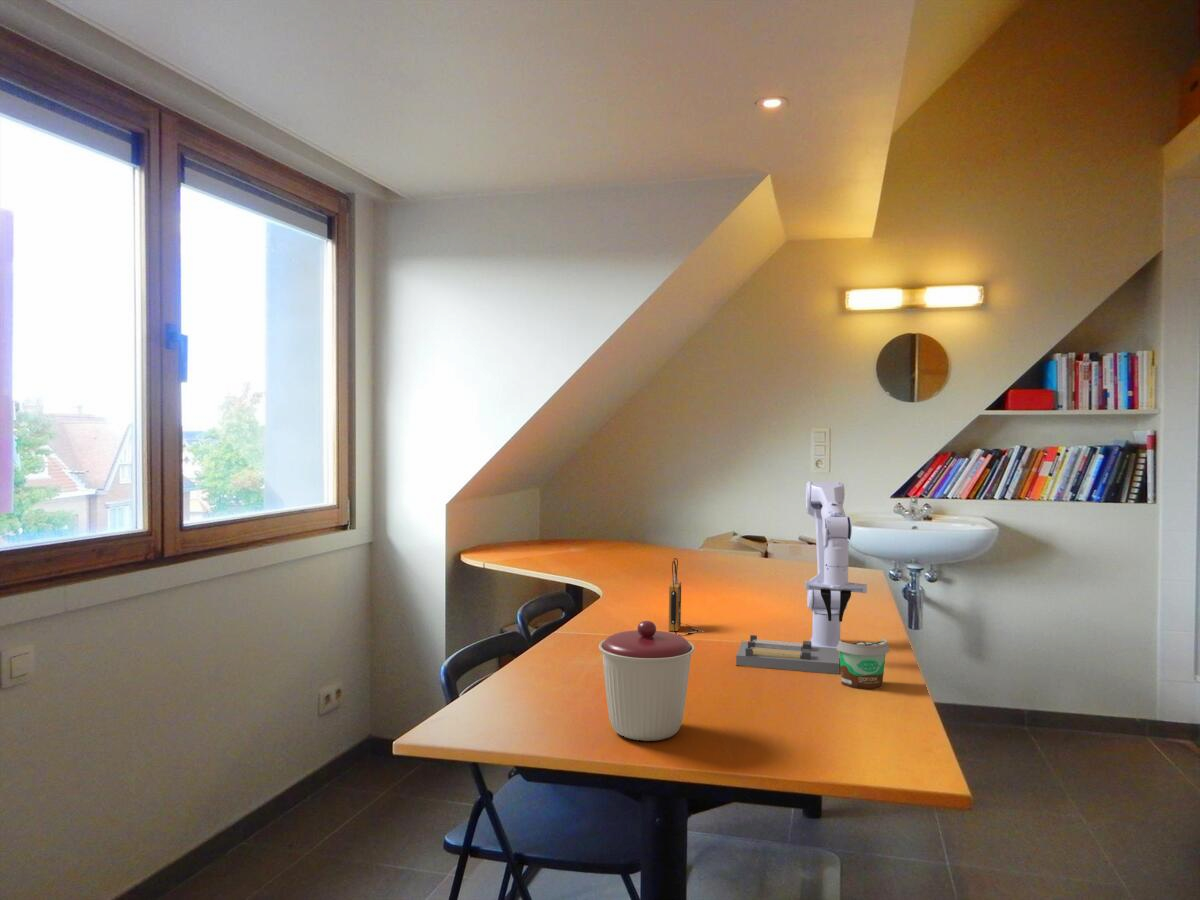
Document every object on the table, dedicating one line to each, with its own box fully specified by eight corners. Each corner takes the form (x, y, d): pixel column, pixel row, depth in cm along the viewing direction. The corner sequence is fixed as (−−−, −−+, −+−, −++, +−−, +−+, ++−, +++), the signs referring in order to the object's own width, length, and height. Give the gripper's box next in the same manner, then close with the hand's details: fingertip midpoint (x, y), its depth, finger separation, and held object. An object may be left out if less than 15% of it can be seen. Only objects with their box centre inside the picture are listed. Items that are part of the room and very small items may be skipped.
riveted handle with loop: (702, 637, 232) (703, 564, 231) (666, 635, 234) (667, 563, 233) (707, 624, 246) (707, 556, 245) (672, 623, 248) (673, 555, 247)
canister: (686, 715, 170) (688, 610, 169) (700, 750, 151) (701, 633, 151) (596, 715, 169) (597, 610, 168) (599, 750, 151) (600, 633, 150)
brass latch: (749, 654, 205) (749, 650, 205) (750, 650, 208) (750, 646, 208) (800, 659, 202) (800, 655, 202) (800, 655, 205) (800, 651, 205)
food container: (850, 693, 184) (851, 647, 184) (835, 684, 190) (836, 640, 190) (900, 689, 188) (900, 644, 187) (883, 680, 194) (884, 637, 193)
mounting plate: (741, 650, 218) (741, 634, 218) (838, 658, 212) (838, 641, 212) (736, 665, 204) (736, 648, 204) (839, 674, 198) (839, 656, 198)
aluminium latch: (752, 646, 212) (752, 642, 212) (753, 642, 216) (753, 639, 216) (801, 650, 209) (801, 646, 209) (801, 647, 213) (801, 643, 213)
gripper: (805, 566, 205) (804, 621, 206) (867, 569, 202) (866, 626, 202) (806, 561, 212) (805, 615, 213) (866, 564, 208) (865, 619, 209)
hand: (835, 620), depth 208 cm, fingers closed
